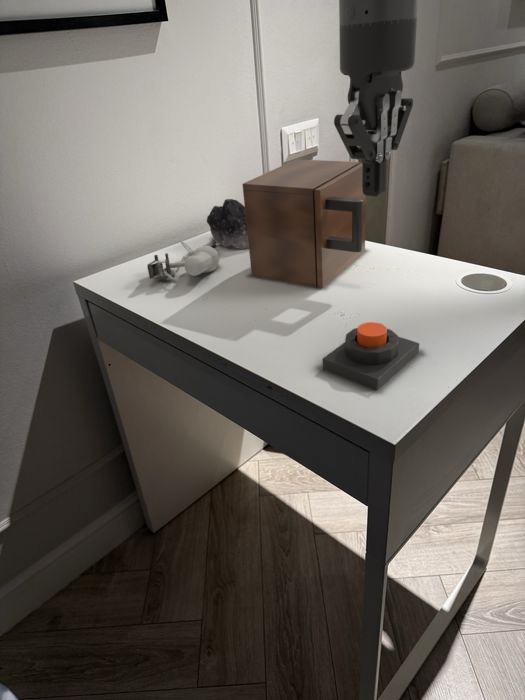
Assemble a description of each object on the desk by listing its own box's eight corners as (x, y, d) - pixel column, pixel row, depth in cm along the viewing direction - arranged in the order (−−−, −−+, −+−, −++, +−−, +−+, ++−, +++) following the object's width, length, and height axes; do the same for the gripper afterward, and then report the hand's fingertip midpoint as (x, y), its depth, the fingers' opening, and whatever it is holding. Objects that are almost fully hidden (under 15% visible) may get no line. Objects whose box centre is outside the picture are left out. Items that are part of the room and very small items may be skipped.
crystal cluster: (272, 230, 118) (265, 185, 114) (276, 245, 106) (268, 196, 102) (214, 240, 119) (205, 196, 114) (212, 256, 107) (201, 208, 102)
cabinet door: (394, 257, 96) (399, 164, 88) (355, 296, 84) (355, 192, 75) (360, 252, 100) (361, 162, 91) (317, 290, 87) (314, 189, 78)
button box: (365, 339, 72) (366, 314, 70) (418, 357, 68) (420, 330, 65) (322, 373, 66) (322, 346, 64) (377, 394, 62) (378, 366, 59)
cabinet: (358, 253, 100) (360, 161, 91) (316, 290, 87) (312, 188, 79) (299, 245, 106) (295, 159, 98) (252, 279, 94) (242, 183, 85)
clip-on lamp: (179, 269, 109) (145, 287, 92) (173, 238, 107) (137, 251, 90) (233, 263, 106) (208, 280, 89) (228, 231, 104) (201, 243, 88)
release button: (367, 331, 67) (367, 319, 66) (391, 339, 65) (392, 327, 64) (351, 343, 65) (351, 331, 64) (376, 351, 63) (376, 339, 62)
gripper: (376, 18, 45) (372, 214, 54) (443, 10, 53) (430, 182, 62) (307, 25, 49) (314, 206, 58) (378, 17, 57) (374, 177, 66)
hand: (374, 193), depth 60 cm, fingers closed
